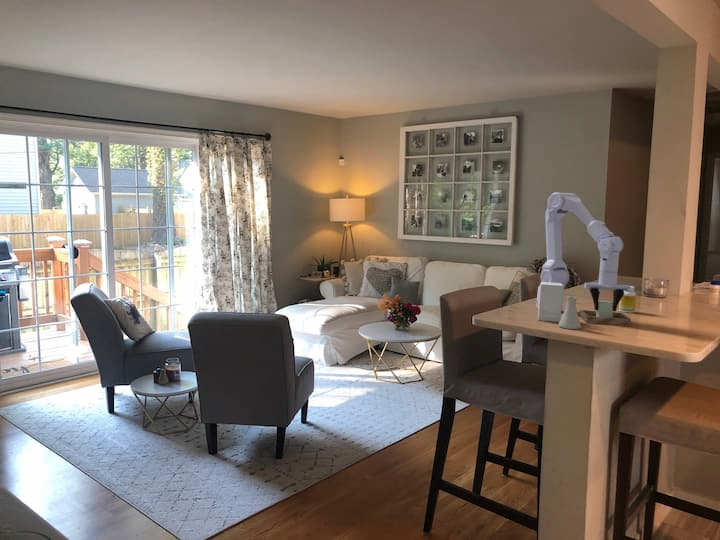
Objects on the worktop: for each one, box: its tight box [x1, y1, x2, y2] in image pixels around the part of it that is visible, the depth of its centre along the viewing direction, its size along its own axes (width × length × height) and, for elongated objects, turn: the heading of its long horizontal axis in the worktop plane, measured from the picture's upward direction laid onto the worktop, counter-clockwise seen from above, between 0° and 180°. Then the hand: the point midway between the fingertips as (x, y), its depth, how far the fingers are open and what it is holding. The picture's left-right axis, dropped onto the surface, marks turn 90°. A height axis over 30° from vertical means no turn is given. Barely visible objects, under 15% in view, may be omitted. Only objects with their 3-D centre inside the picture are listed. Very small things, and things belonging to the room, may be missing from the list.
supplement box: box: [537, 281, 563, 323], centre depth 196 cm, size 7×7×13 cm
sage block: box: [595, 300, 614, 318], centre depth 197 cm, size 4×4×6 cm
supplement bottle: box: [618, 285, 637, 313], centre depth 216 cm, size 5×5×10 cm
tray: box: [579, 309, 632, 327], centre depth 197 cm, size 14×12×2 cm
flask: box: [558, 295, 582, 330], centre depth 185 cm, size 7×7×10 cm
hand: (605, 310), depth 197 cm, fingers open, 5 cm apart
